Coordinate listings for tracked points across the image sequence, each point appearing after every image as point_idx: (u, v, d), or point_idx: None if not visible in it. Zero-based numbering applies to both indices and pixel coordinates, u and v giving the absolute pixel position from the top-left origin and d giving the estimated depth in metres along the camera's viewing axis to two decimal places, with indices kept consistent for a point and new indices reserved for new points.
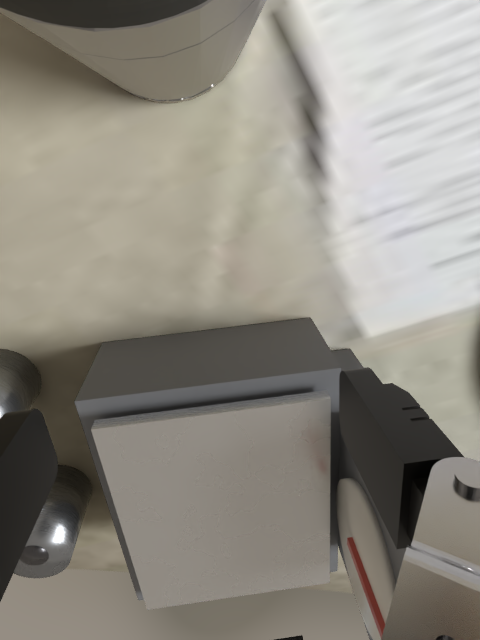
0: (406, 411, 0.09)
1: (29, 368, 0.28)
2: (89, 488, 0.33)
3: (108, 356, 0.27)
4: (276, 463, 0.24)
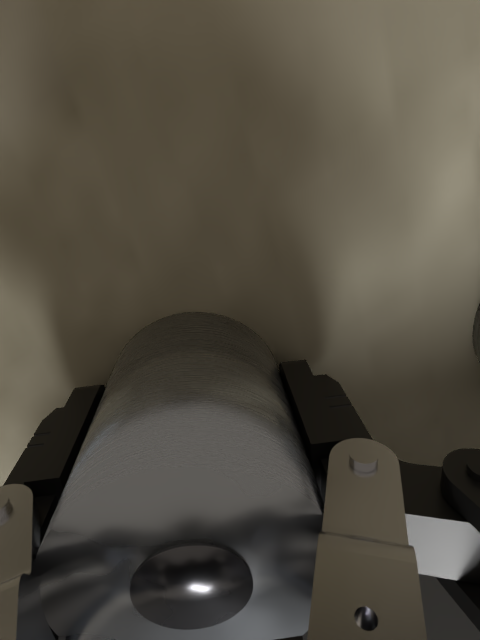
0: (332, 399, 0.10)
1: None
2: None
3: None
4: None
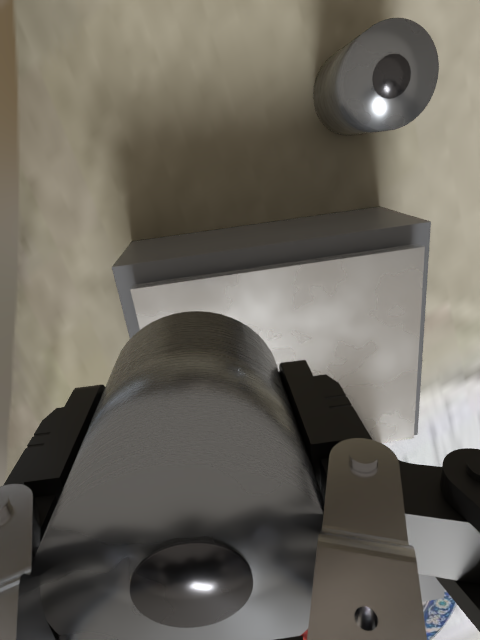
0: (331, 399, 0.10)
1: None
2: None
3: None
4: None
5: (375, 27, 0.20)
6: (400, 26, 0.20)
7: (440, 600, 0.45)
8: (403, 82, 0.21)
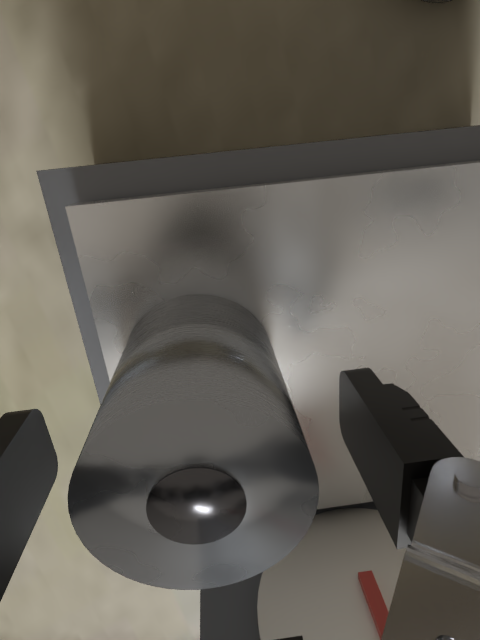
0: (406, 411, 0.09)
1: None
2: None
3: None
4: None
5: None
6: None
7: None
8: None
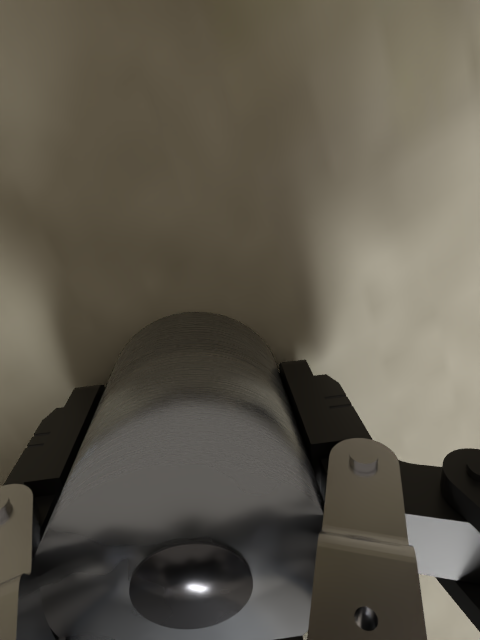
0: (332, 399, 0.10)
1: None
2: None
3: None
4: None
5: (110, 490, 0.06)
6: (198, 483, 0.06)
7: None
8: (233, 596, 0.07)
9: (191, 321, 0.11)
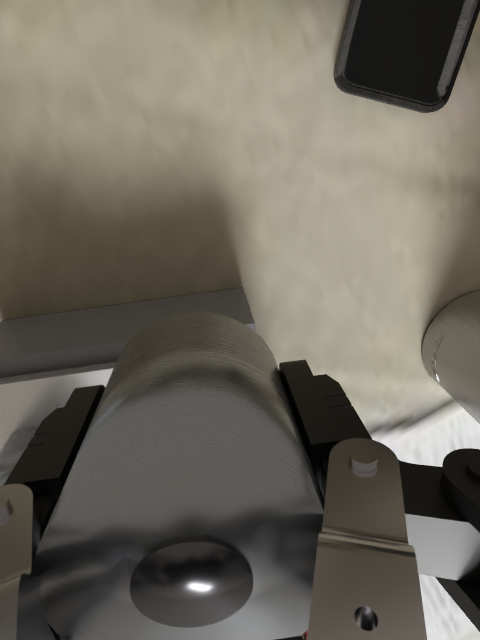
0: (331, 399, 0.10)
1: None
2: None
3: None
4: None
5: (110, 488, 0.06)
6: (198, 481, 0.06)
7: None
8: (233, 595, 0.07)
9: (191, 320, 0.11)
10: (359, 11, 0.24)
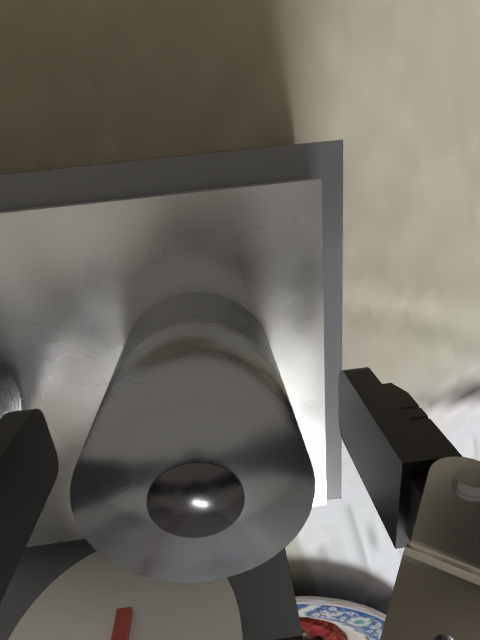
0: (405, 410, 0.09)
1: None
2: None
3: None
4: None
5: (132, 416, 0.07)
6: (201, 412, 0.07)
7: None
8: (229, 509, 0.08)
9: (193, 299, 0.12)
10: None
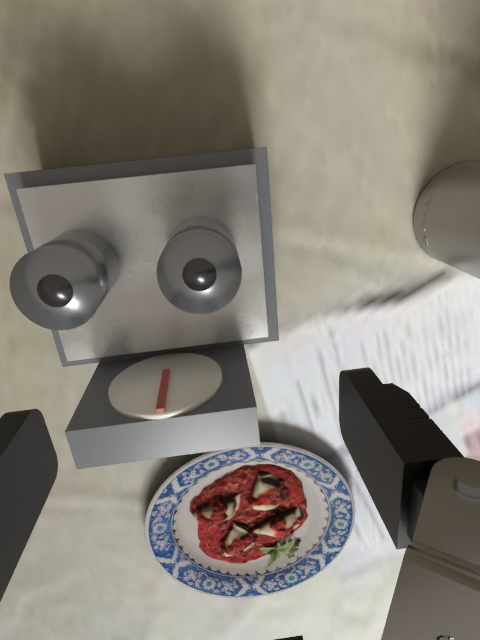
0: (406, 411, 0.09)
1: None
2: None
3: None
4: None
5: (179, 238, 0.23)
6: (202, 238, 0.23)
7: (338, 521, 0.50)
8: (211, 279, 0.24)
9: (200, 217, 0.28)
10: None
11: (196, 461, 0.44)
